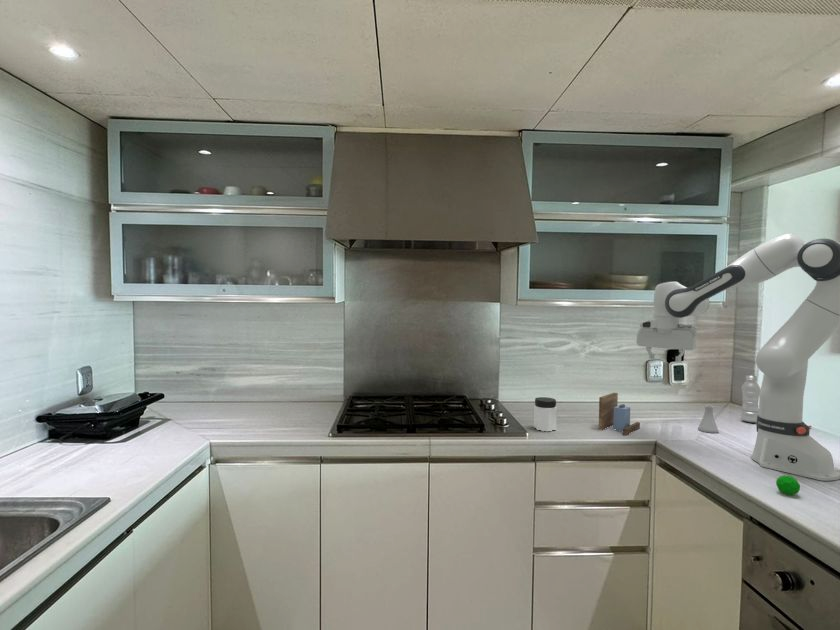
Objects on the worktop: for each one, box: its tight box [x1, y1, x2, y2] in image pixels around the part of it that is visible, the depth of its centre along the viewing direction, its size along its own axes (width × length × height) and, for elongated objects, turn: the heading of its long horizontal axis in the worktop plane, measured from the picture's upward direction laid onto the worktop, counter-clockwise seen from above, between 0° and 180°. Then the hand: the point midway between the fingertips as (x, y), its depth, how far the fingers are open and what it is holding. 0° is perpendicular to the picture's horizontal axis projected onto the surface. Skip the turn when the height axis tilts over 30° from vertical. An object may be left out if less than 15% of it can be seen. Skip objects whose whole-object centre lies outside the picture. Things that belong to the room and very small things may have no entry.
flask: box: [697, 404, 719, 434], centre depth 182 cm, size 7×7×10 cm
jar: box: [533, 396, 558, 432], centre depth 182 cm, size 9×8×12 cm
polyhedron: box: [775, 475, 801, 496], centre depth 123 cm, size 5×5×5 cm
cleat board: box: [598, 392, 641, 436], centre depth 183 cm, size 11×14×13 cm
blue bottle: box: [612, 403, 631, 432], centre depth 183 cm, size 4×5×10 cm
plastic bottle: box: [740, 374, 761, 423], centre depth 196 cm, size 6×7×20 cm
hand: (664, 359), depth 175 cm, fingers open, 8 cm apart
